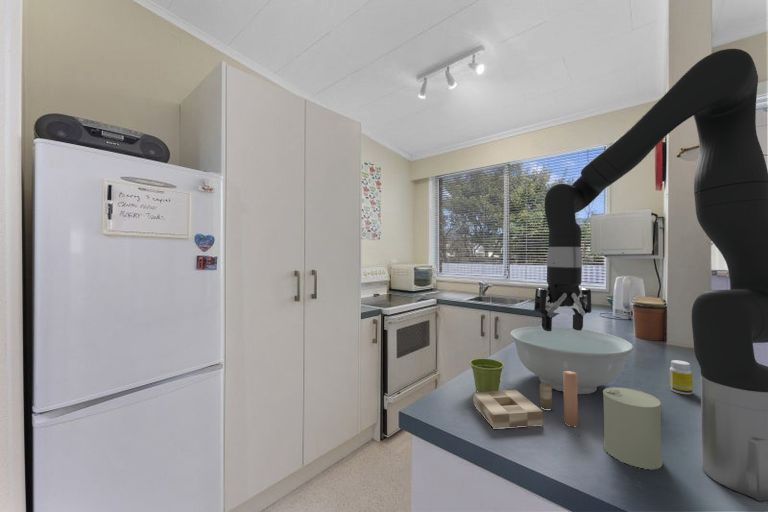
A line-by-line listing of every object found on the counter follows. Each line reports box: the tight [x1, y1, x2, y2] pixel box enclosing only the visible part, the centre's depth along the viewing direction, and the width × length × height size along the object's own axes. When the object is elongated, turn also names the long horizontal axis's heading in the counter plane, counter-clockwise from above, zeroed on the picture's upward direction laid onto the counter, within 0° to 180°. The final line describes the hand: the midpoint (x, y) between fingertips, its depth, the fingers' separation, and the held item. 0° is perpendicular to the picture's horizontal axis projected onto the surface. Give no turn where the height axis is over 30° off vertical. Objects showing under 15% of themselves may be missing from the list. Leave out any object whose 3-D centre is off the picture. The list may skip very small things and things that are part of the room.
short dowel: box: [539, 382, 553, 410], centre depth 82 cm, size 3×3×6 cm
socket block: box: [472, 389, 544, 428], centre depth 79 cm, size 12×12×4 cm
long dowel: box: [563, 371, 579, 427], centre depth 74 cm, size 3×3×12 cm
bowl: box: [509, 326, 634, 395], centre depth 98 cm, size 32×32×15 cm
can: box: [602, 386, 664, 470], centre depth 63 cm, size 9×9×12 cm
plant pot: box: [469, 357, 505, 392], centre depth 92 cm, size 9×9×9 cm
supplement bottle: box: [669, 359, 693, 395], centre depth 91 cm, size 5×5×8 cm
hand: (562, 330), depth 79 cm, fingers open, 8 cm apart
